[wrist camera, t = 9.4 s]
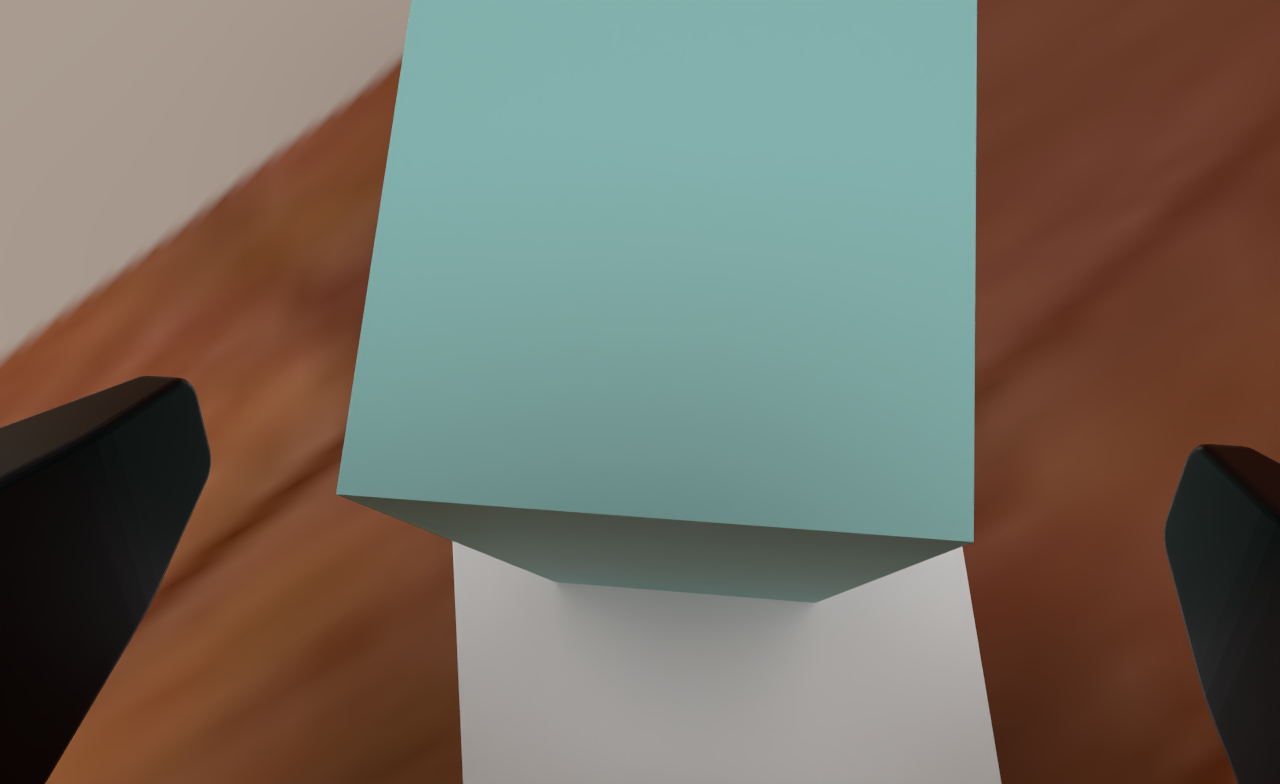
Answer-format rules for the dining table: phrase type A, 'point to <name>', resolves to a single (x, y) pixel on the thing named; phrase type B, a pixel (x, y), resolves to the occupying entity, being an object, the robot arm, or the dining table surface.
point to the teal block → (677, 291)
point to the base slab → (719, 682)
